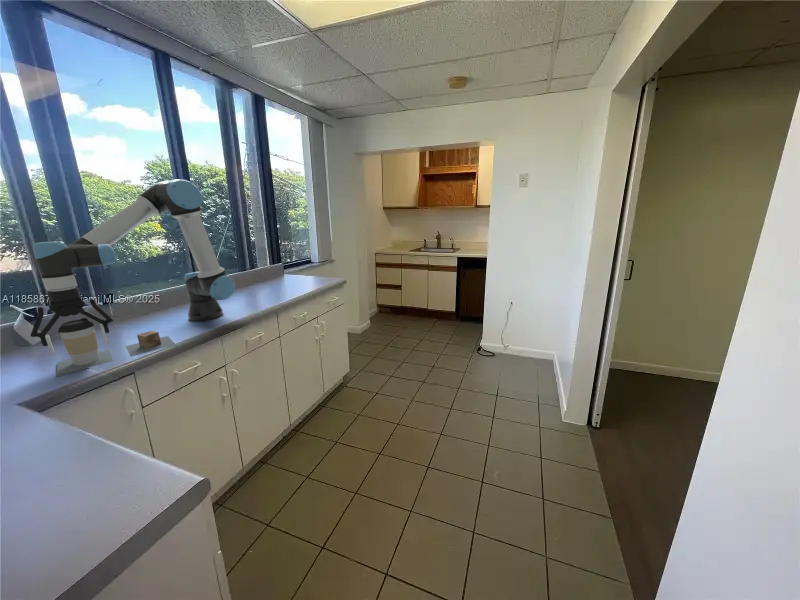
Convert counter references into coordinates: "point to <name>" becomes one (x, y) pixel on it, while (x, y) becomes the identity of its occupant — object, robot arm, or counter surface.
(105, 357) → the pad
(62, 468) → the counter surface
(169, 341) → the pad
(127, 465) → the counter surface
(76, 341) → the coffee cup
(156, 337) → the walnut block
